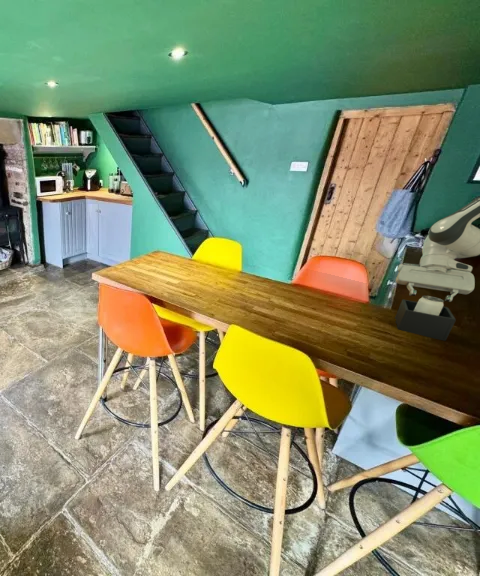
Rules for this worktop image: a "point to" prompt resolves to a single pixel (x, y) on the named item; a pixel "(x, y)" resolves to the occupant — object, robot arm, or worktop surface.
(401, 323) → the bin
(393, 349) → the worktop surface
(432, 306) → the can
